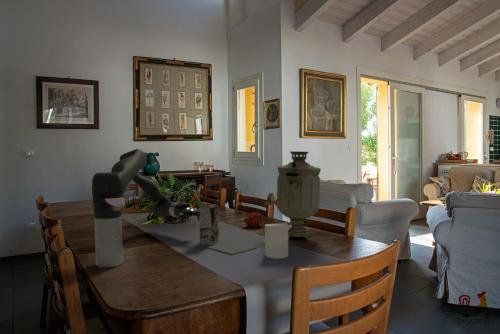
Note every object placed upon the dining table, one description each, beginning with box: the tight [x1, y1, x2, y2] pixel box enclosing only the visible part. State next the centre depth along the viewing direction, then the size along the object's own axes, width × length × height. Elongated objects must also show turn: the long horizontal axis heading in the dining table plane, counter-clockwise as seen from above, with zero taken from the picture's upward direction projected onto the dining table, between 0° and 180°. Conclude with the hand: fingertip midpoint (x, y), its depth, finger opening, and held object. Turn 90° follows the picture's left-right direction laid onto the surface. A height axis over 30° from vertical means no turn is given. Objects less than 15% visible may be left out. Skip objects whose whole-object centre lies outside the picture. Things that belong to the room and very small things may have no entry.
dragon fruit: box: [243, 211, 265, 228], centre depth 206 cm, size 8×8×12 cm
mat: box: [206, 240, 258, 256], centre depth 161 cm, size 16×14×1 cm
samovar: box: [263, 151, 322, 242], centre depth 180 cm, size 30×26×40 cm
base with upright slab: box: [264, 222, 289, 259], centre depth 150 cm, size 9×9×12 cm
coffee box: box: [199, 204, 220, 246], centre depth 171 cm, size 9×6×16 cm
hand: (202, 214), depth 175 cm, fingers closed
